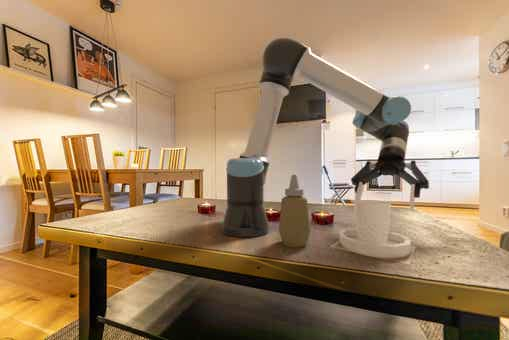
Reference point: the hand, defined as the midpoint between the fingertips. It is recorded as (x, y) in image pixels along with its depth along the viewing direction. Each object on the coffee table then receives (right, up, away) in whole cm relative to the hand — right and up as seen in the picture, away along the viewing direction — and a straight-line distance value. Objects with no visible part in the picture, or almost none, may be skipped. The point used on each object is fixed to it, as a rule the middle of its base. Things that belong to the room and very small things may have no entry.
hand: (382, 202), depth 63 cm
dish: (-8, -9, -9) cm, 15 cm away
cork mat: (-8, -10, -9) cm, 15 cm away
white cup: (-8, -9, -9) cm, 15 cm away
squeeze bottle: (-26, -10, -6) cm, 29 cm away
